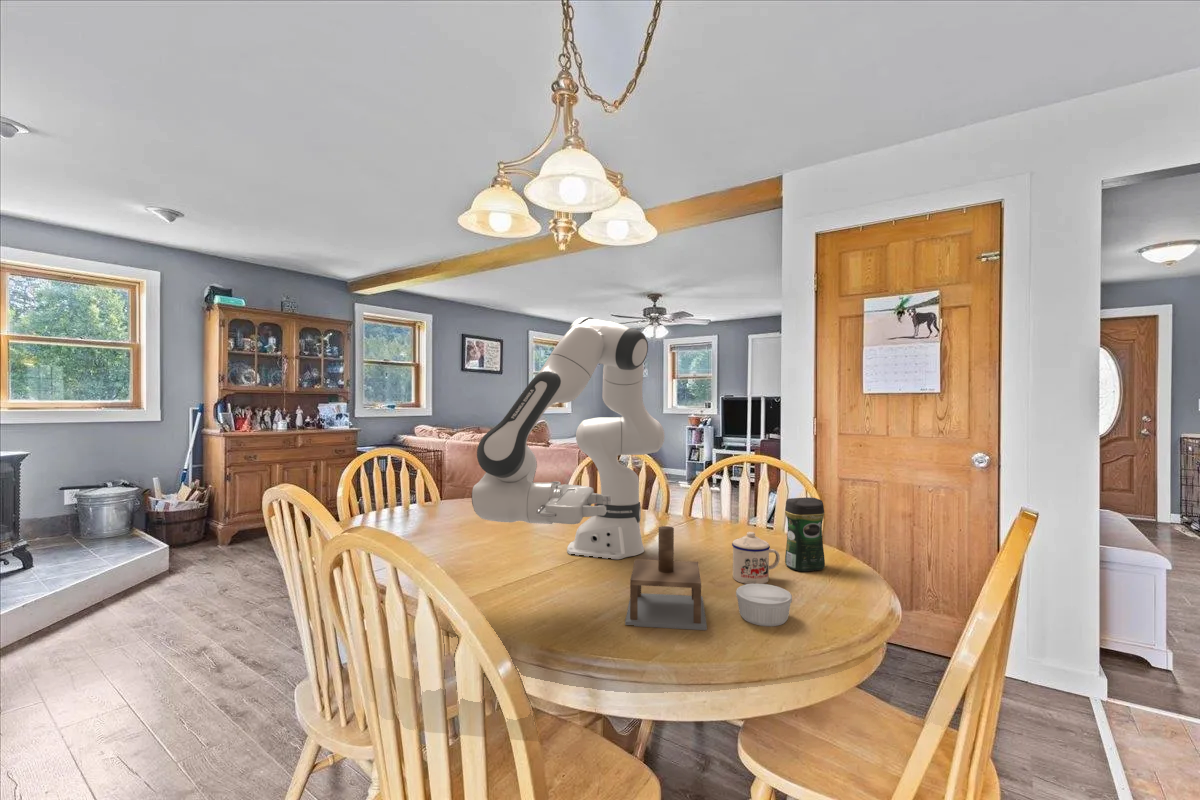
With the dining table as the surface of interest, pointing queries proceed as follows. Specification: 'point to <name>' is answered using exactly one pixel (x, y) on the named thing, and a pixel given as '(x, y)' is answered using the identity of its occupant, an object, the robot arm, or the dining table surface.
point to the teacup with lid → (752, 559)
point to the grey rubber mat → (667, 612)
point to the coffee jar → (804, 534)
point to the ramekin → (763, 604)
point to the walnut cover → (665, 574)
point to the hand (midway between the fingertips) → (608, 505)
